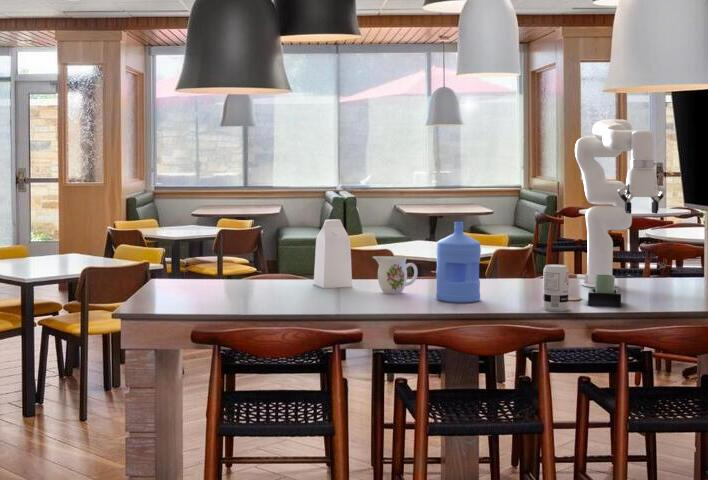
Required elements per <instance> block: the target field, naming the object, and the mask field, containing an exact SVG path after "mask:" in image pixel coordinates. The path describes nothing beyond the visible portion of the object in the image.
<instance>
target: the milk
mask: <svg viewBox="0 0 708 480" xmlns="http://www.w3.org/2000/svg"><path fill="white" fill-rule="evenodd" d="M351 248H352V247H351V238H350V236H349V234H348V232H347V231H346V229H345V227H344V224H343V222H342V220H341V219H325V220H324V221H323V225H322V227H321V229H320V231H319V232H318V234H317V236H316V239H315V251H314V252H315V253H314V271H313V285H315V286H317V287H319V288H321V289H335V288H352V287H353V275H352V274H353V271H352V269H353V268H352V251H351V250H352V249H351Z"/></svg>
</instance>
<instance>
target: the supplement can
mask: <svg viewBox="0 0 708 480" xmlns="http://www.w3.org/2000/svg"><path fill="white" fill-rule="evenodd" d="M542 273H543V277H542V308H544V310H545V311H548V312H565V311H567V310H568V309H569V301H568V296H569V288H570V287H569V286H570V285H569V281H570V280H569V277H570V271H569V268H568V265H566V264H556V263H554V264H553V263H552V264H545V266H544V268H543V272H542Z"/></svg>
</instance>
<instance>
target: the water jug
mask: <svg viewBox="0 0 708 480" xmlns="http://www.w3.org/2000/svg"><path fill="white" fill-rule="evenodd" d="M453 226H454V227H453V228H454V229H453V233H452V234H449V235H448V236H446V237H444V238H441V239H440V240H438V241H437V242H436V270H435V271H436V272H435V274H436V291H435V294H436V295H435V299H437V301H440V302H445V303H450V304H451V303H453V304H469V303H476V302H479V301H480V299H481V281H480V262H481V254H482V253H481V251H482V249H481V242H480V241H479V240H476V239H474V238H473V237H471V236H469V235H467V234H465V233H464V222H463V221H454V225H453Z"/></svg>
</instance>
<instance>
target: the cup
mask: <svg viewBox="0 0 708 480" xmlns="http://www.w3.org/2000/svg"><path fill="white" fill-rule="evenodd" d="M615 279H616V276H615V275H613V274H612V275H595V288H594V289H595V292H599V293H614V289H615V288H616V287H615V283H616V282H615V281H616V280H615Z"/></svg>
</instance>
